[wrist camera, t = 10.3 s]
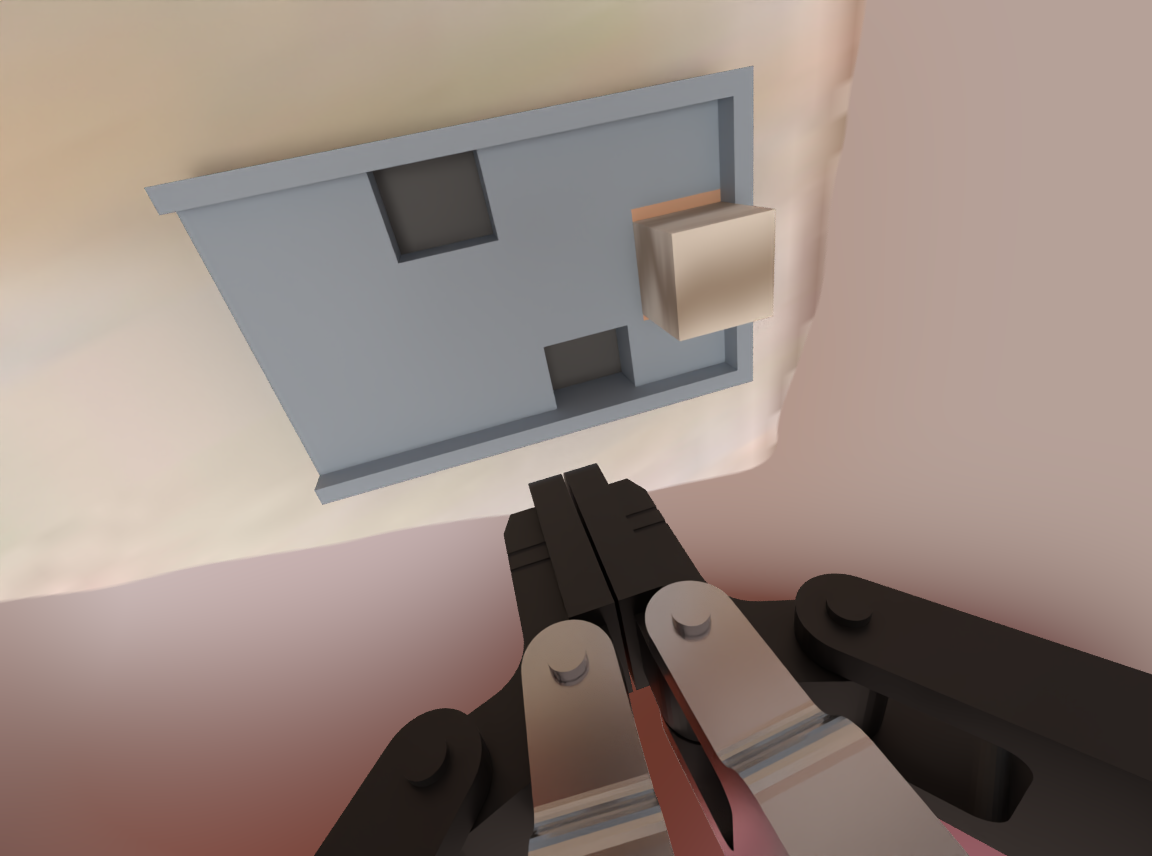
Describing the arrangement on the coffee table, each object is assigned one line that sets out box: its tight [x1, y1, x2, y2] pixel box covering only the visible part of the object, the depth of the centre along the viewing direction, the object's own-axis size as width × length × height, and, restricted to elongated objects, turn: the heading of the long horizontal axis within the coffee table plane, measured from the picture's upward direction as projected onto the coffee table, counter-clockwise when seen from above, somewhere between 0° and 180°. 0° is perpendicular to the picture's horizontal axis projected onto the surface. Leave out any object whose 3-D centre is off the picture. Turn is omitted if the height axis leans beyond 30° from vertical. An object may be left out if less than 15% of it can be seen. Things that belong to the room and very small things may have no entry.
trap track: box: [144, 66, 753, 505], centre depth 27 cm, size 16×26×4 cm, turn 101°
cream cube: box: [633, 201, 776, 341], centre depth 25 cm, size 5×5×5 cm
